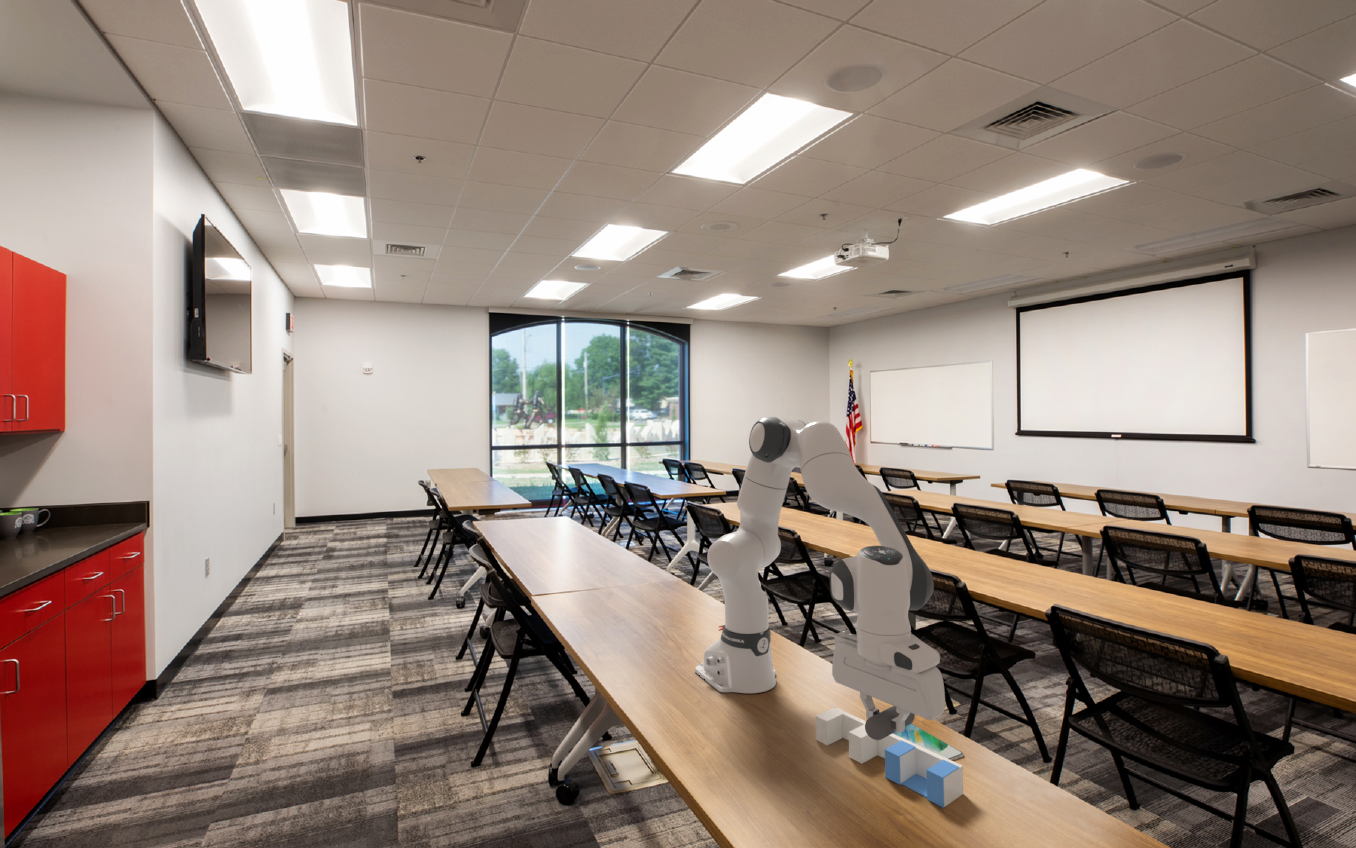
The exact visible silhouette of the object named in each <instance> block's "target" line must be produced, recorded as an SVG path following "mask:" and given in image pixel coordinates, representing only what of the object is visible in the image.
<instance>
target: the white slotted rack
mask: <svg viewBox="0 0 1356 848" xmlns="http://www.w3.org/2000/svg"><path fill="white" fill-rule="evenodd" d="M866 721H867V720H864V719H862V718H860V717H857V716H855V715H853V714H850V713H848V712H846V711H845V710H842V709H840V708H838V707H832V708H830V709H828V710H826V711H825V710H824V711H823V712H821V713H818V714H817V715H815V740H816V741H818V742H820V743H821V744H823V745H825V746H829V745H832V744H833V743H836V742H838V741H839V740H841V739H844V740H846V741H848V756H849V758H850V759H852V760H854V761H856V762H857V763H859V764H863V763H866V762H868V761H870V760H871V759H873V758H875V757H877V756H879V757H881V758H883V759H884V776H885V778H886V779H887V780H890V781H891V782H893V783H896V784H897V785H898V786H899V785H902V786H904V787H905V788H907V789H909V790H911V791H913V792H915V793H917V794H919V795H921V796H923V797H925V798H926V800H928V801H929V802H932V803H933V804H935V805H937V806H939V807H940V808H943V809H944V808H945V807H947V806H948V805H950V804H951V803H953V802H954V801H955V800H957V799H958V798H960V797H961V796H962V795H964V766H963V765H962V764H960V763H959V762H955V760H949V759H947V758H945V757H943V756H941V755H938V754H936V753H934V752H932V751H930V750H927V749H925V748H923V747H921V746H919V745H917V744H914V743H912V742H910V741H908V740H906V739H903V738H901V737H899V736H897V735H895V734H891V735H889V736H887V737H885V738H883V739H881V740H874V739H872V738H870V737H869V736H868V735H867V733H866V731H865V723H866Z"/></svg>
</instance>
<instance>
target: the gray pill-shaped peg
mask: <svg viewBox="0 0 1356 848" xmlns="http://www.w3.org/2000/svg"><path fill="white" fill-rule="evenodd" d="M899 714H900V713H897V712H896V706H893V705H891V706H890V707H888V708H887V709H884V710H883V711H881V712H880V711H879V713H878V714H876V715H874V716H872V717H870V718H868V719H867V718H866V720H865V721H866V723H865V731H866V733H867V735H868V736H869V737H870V738H872V739H874V740H881V739H883V738H885V737H887V736H889V735H891V734H892V733H894V732H896V731H894V730H892V728H891V726H892V724H891V720H892V719H895V718H896V717H898V716H899ZM915 717H916V715H915V714H913V713H910V714H909V716H908V717H907V719H906V720H905V727H906V726H908V725H909V724H911V723H912V724H913V722H914V721H915Z"/></svg>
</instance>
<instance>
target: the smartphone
mask: <svg viewBox="0 0 1356 848" xmlns="http://www.w3.org/2000/svg"><path fill="white" fill-rule="evenodd" d="M892 734H895V735H897V736H899V737H901V738H903V739H906V740H908V741H910V742H912V743H914V744H917V745H919V746H921V747H923V748H925V749H927V750H930V751H932V752H934V753H936V754H938V755H941V756H943V757H945V758H947V759H949V760H952V761H956V760H959V759H961V758H963V757H964V756H965V755H964V752H962V751H961V750H959V749H957V748H955V747H954V746H952V745H950V744H948V743H947V742H945V741H943V740H942V739H940V738H938V737H936V736H935V735H932V734H931V733H929V732H928V731H926V730H924V729H922V728H921V727H918V726H917V725H915V724H914V723H913V722H912V723H911V724H909V725H908V726H906V727H905V730H904V731H903V732H901V733H899V732H897V731H896V732H894V733H892Z"/></svg>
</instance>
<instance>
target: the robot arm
mask: <svg viewBox="0 0 1356 848" xmlns="http://www.w3.org/2000/svg"><path fill="white" fill-rule="evenodd" d="M748 444H749V446H748V447H749V449H750V452H751V456H750V458H749V461H748V463H747V466H746V469H745V472H744V475H743V479H742V483H741V486H740V491H739V493H738V496H737V497H738V498H737V500H736V505H737V508H738V511H740V521H739V527H738V528H737V530H736V531H732V532H730V533H727V534H726V533H725V534H724V535H722V536H720V537H719V538H718V539H716V540H715V541H714V542H713V543H712V544H711V545H710V546H709V548H708V550H707V557H706V558H707V564H708V566H709V569H710V570H711V572H712V573H713V574H714V575H715V576H717V577H716V578H718V580H719V583H720V586H721V589H722V593H723V594H722V595H723V599H724V624H723V625H719V626H718V628H719V629H718V632H720V631H721V635H720V638H718V639H717V640H716V641H714V642H713V643H711V644H710V645H708V647H707V648H706V649H705V651H704V655H703V662H701V663H700V664H697V665H696V666H695V668H694V672H695V673H696V674H697V675H698V676H699V675H700V676H699V677H700V678H702V679H703V680H704V679H705V682H707V683H708V684H709V685H710V686H711V687H713V688H714V689H715V690H717V691H718V692H720V693H738V694H739V693H740V694H757V693H763V692H764V693H765V692H767V691H769V690H772V689H773V688H774V687H775V686H776V685H777V679H776V674H777V673H776V668H774V661H773V654H772V647H771V640H772V639H771V638H772V637H771V635H772V631H771V627H770V625H769V597H768V595H767V594H766V592H765V591H764V590H763V589H762V587H761V586H762V585H761V584H760V579H759V570H761V569H763V568H767V567H768V566H770V565H771V564H772V563H773V562H774V561H775V560H776V559H777V558H778V557H779V555H780V553H781V550H782V549H781V548H782V543H781V539H780V537H779V523H780V522H779V521H780V516H781V510H782V507H783V504H784V500H785V496H786V493H787V490H788V486H789V483H790V478H791V474H792V472H793V470H794V469H795V468H799V469H800V474H801V478H802V481H803V485H804V488H805V490H806V492H807V494H808V496H809V498H810V499H811V500H812V501H813V502H815V503H816V504H817V505H819V506H821V507H822V508H824V509H827V510H831V511H834V512H838V513H842V514H846V515H848V516H852V517H854V518H857V519H859V520H861V521H863V522H864V523H866V524H867V525H868V526H869V527H870V528H871V529H872V531H873V533H874V535H875V537H876V539H877V541H878V543H879V544H880V545H869V546H866V547H862V548H861V549H860V550H858V553H857V555H855V556H850V557H846V558H845V557H844V558H842V559H839V560H837V561H836V562H835V563H834V565H833V566H832V568H831V570H830V572H829V591H830V596H831V598H832V600H833V601H834V602H835V603H836V604H837V605H839V607H841V609H842V608H843V609H844V610H846V611H848V612H855V613H856V614H857V620H856V634H854V633H850V632H849V631H848V632H847V631H844V630H843V631H841V632H838V633H836V635H835V636H834V650H833V656H832V669H831V670H832V671H831V675H832V677H833V680H834V682H835V683H837V684H840V685H842V686H844V687H847V688H850V689H851V690H854V691H857V692H859V698H860V700H861V703H862V705H863V706H864V708H865V716H866V720H867V719H868V718H870V717H872V716H874V715H876V714H878V713H880V708H878V707H876V705H875V702H874V699H876V700H879V701H881V702H884V703H885V704H889V705H891V706H896V712H897V713H900V714H899V716H898V717H896V718H895V719H892V720H891V724H892V726H891V728H892V730H894V731H897V732H899V733H901V732H903V731H904V730H905V720H906V719H907V717H908V716H909V714H910V713H913V714H915V716H918V717H920V718H923V719H926V720H927V721H932V720H934V719H936V718H938V717H940V716H941V715H943V714H944V712H945V709H946V695H945V694H946V692H945V686H944V679H943V678H944V677H943V675H942V672H941V671H940V669H939V668H938V667H937V665H939V664H940V662H941V661H940V660H941V656H940V653H939V652H938V650H936V649H935V648H933V647H932V646H930V645H928V644H927V643H925V642H924V641H922V640H921V639H920V638H918V637H917V636H916V635H914V634H913V633H912V632H911V631H912V628H911V624H910V620H909V611H919V610H920V609H922V608H923V607H924V606H925V605H926V604H927V603H928V601H929V600H930V599H931V597H932V595H933V592H934V588H935V586H934V577H933V574H932V573H931V570H930V568H929V567H928V565H927V564H926V562H925V561H924V560H923V558H922V557H921V556H920V554H919V553H918V552H917V551H916V549H915V547H914V546H913V544H912V542H911V541H910V539H909V537H908V535H907V533H906V531H905V530H904V527H903V526H902V525H901V523H900V520H899V519H898V517H897V516H896V514H895V512H894V511H893V509H892V507H891V505H890V503H889V501H888V500H887V498H886V496H885V495H884V494H883V492H882V490H881V489H880V488H878V486H876V485H874V484H873V483H871V482H870V481H868V480H867V479H866V477H864V476H863V475H862V474H861V472H860V471H859V470H858V468H857V467H856V465H855V463H854V461H853V457H852V455H851V452H850V449H849V447H848V445H847V442H846V441H845V440H844V438H843V435H842V434H841V432H840V431H839V428H837V427H836V426H835V424H832V423H831V422H828V421H822V420H819V421H818V420H817V421H813V422H808V421H805V420H799V419H798V420H795V419H789V418H788V419H787V418H778V417H776V416H765V417H761V418H759V419H758V420H757V421H756V422H755V423H754V425H753V426H752V427H751V430H750V432H749V439H748ZM873 698H874V699H873Z"/></svg>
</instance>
